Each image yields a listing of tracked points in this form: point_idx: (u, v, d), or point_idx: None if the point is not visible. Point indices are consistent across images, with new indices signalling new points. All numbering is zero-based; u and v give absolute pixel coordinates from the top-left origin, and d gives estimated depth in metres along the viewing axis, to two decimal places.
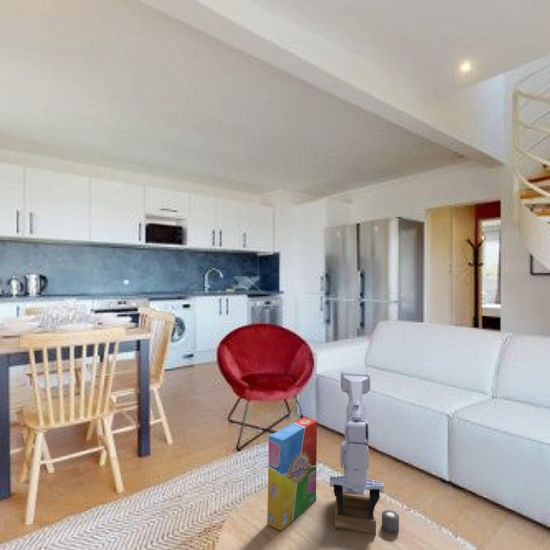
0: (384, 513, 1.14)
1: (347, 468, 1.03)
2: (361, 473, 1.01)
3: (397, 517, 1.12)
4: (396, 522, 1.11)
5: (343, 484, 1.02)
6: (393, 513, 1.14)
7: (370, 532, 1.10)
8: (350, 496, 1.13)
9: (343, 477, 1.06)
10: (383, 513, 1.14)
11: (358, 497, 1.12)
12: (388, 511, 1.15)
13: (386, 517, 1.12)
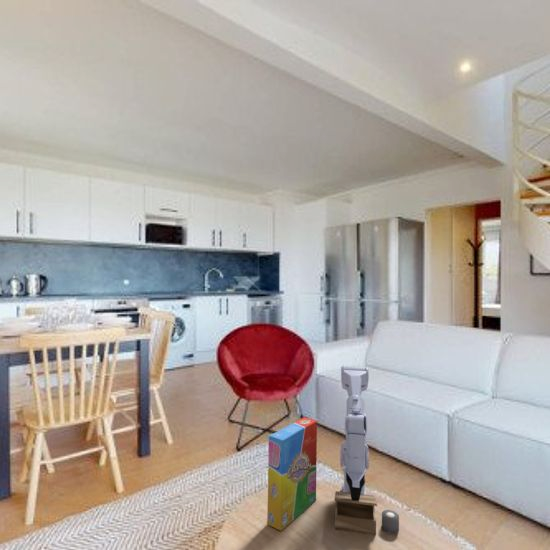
0: (384, 513, 1.14)
1: None
2: (347, 458, 1.14)
3: (397, 517, 1.12)
4: (396, 522, 1.11)
5: None
6: (393, 513, 1.14)
7: (370, 532, 1.10)
8: (350, 501, 1.12)
9: None
10: (383, 513, 1.14)
11: (358, 502, 1.12)
12: (388, 511, 1.15)
13: (386, 517, 1.12)
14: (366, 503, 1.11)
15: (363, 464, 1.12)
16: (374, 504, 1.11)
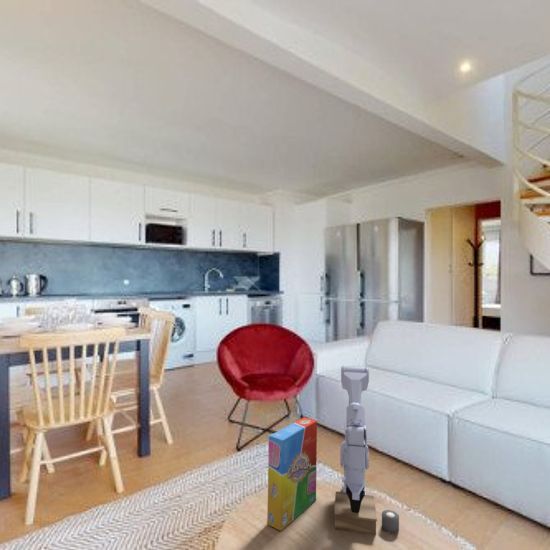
0: (384, 513, 1.14)
1: None
2: (347, 469, 1.14)
3: (397, 517, 1.12)
4: (396, 522, 1.11)
5: None
6: (393, 513, 1.14)
7: (370, 532, 1.10)
8: (350, 516, 1.11)
9: None
10: (383, 513, 1.14)
11: (358, 517, 1.11)
12: (388, 511, 1.15)
13: (386, 517, 1.12)
14: (366, 518, 1.10)
15: (363, 476, 1.12)
16: (374, 519, 1.10)
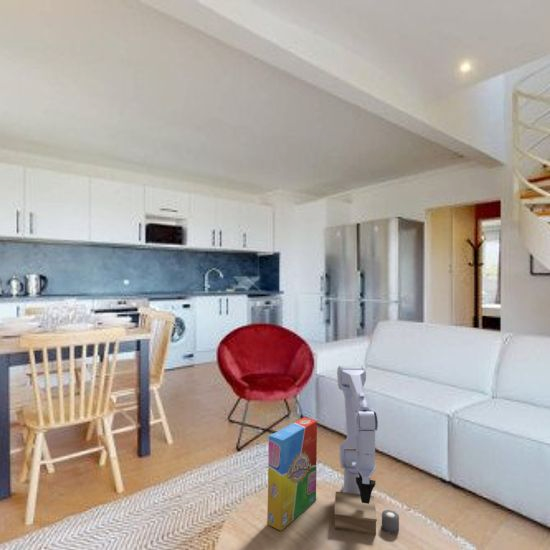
0: (384, 513, 1.14)
1: None
2: (356, 454, 1.13)
3: (397, 517, 1.12)
4: (396, 522, 1.11)
5: None
6: (393, 513, 1.14)
7: (370, 532, 1.10)
8: (350, 516, 1.11)
9: None
10: (383, 513, 1.14)
11: (358, 518, 1.11)
12: (388, 511, 1.15)
13: (386, 517, 1.12)
14: (366, 518, 1.10)
15: (373, 461, 1.12)
16: (374, 519, 1.10)
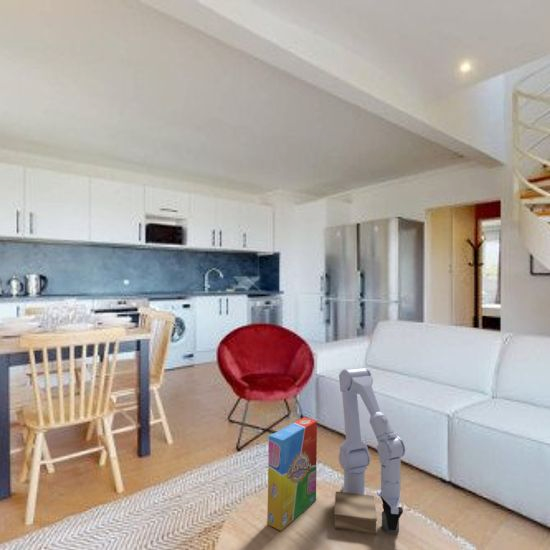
0: (384, 513, 1.14)
1: None
2: (382, 482, 1.12)
3: None
4: None
5: None
6: None
7: (370, 532, 1.10)
8: (350, 516, 1.11)
9: None
10: (383, 513, 1.14)
11: (358, 518, 1.11)
12: None
13: None
14: (366, 518, 1.10)
15: (399, 489, 1.11)
16: (374, 519, 1.10)
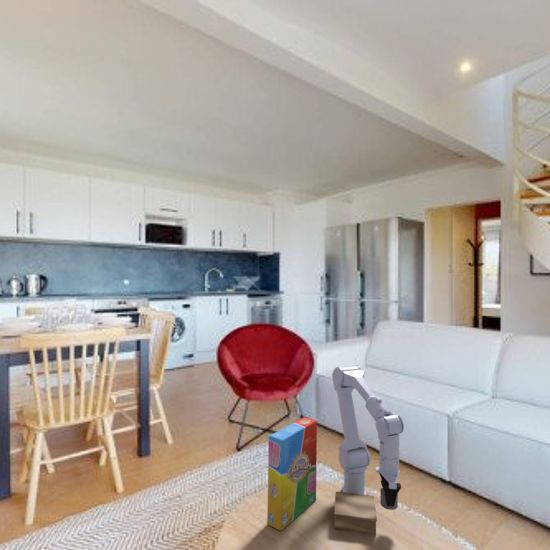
0: (383, 490, 1.14)
1: None
2: (381, 459, 1.13)
3: None
4: None
5: None
6: None
7: (370, 532, 1.10)
8: (350, 516, 1.11)
9: None
10: (382, 490, 1.14)
11: (358, 518, 1.11)
12: None
13: None
14: (366, 518, 1.10)
15: (398, 465, 1.12)
16: (374, 519, 1.10)
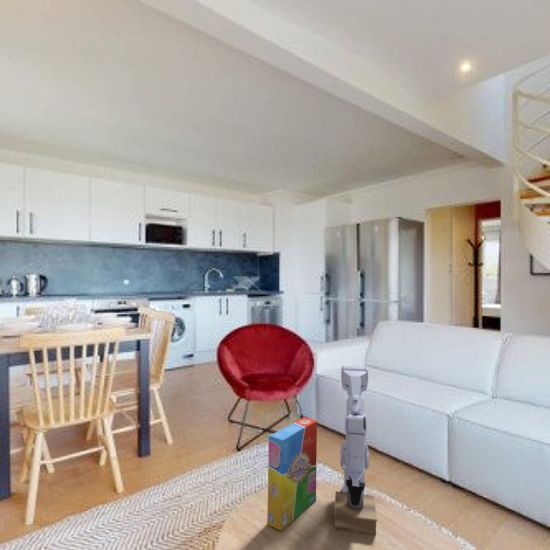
0: None
1: None
2: (347, 457, 1.16)
3: (361, 494, 1.15)
4: (360, 499, 1.14)
5: None
6: None
7: (370, 532, 1.10)
8: (350, 517, 1.11)
9: None
10: (348, 491, 1.17)
11: (358, 518, 1.11)
12: None
13: None
14: (366, 519, 1.10)
15: (363, 463, 1.15)
16: (374, 520, 1.10)
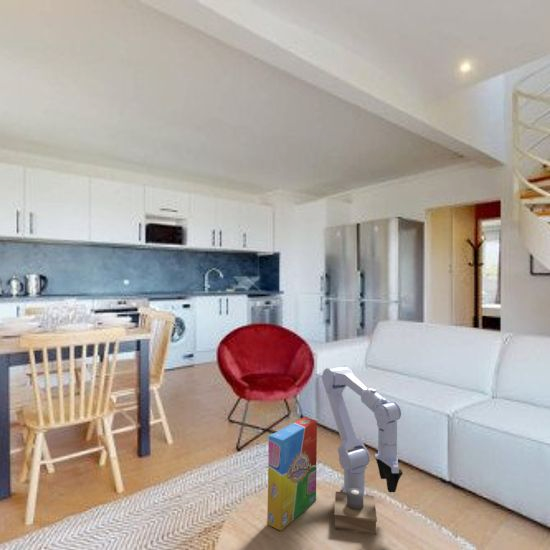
0: (349, 491, 1.17)
1: None
2: (381, 446, 1.17)
3: (361, 494, 1.15)
4: (359, 499, 1.14)
5: None
6: (359, 490, 1.18)
7: (370, 532, 1.10)
8: (350, 517, 1.11)
9: None
10: (348, 491, 1.17)
11: (358, 518, 1.11)
12: (354, 489, 1.18)
13: (350, 494, 1.16)
14: (366, 519, 1.10)
15: (396, 450, 1.17)
16: (374, 520, 1.10)
